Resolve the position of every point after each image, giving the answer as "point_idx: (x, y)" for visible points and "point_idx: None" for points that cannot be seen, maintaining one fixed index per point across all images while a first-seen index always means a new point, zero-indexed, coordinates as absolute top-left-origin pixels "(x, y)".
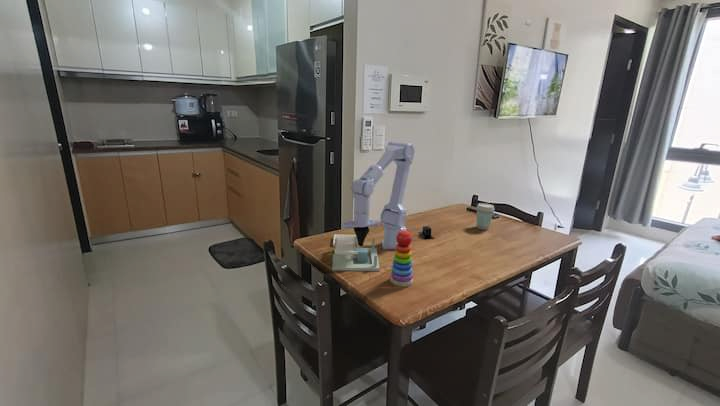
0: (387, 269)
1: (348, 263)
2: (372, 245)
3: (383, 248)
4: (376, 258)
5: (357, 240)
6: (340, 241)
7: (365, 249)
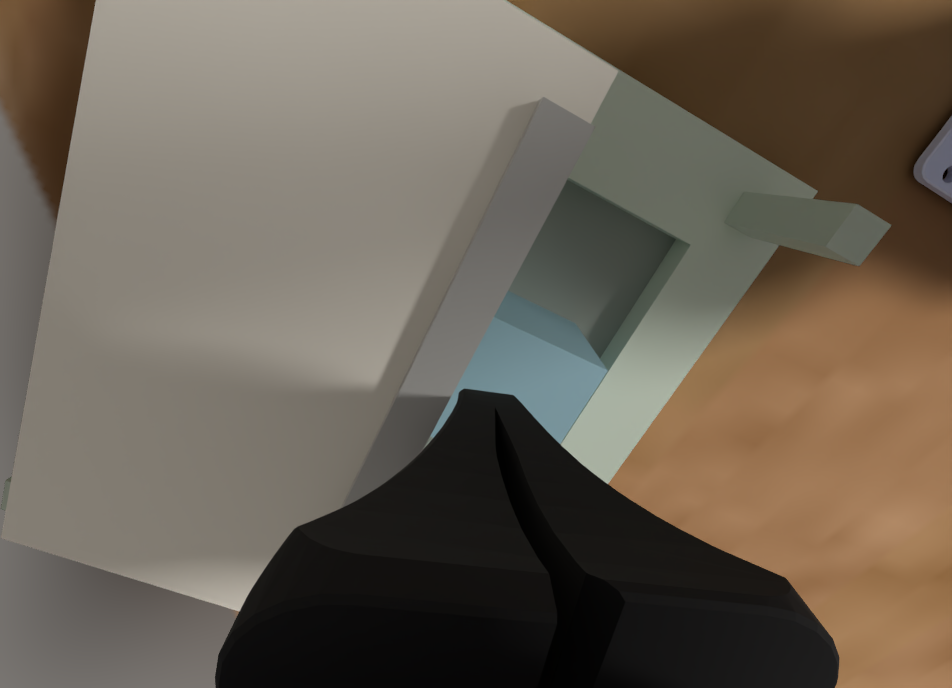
0: None
1: None
2: (767, 234)
3: (914, 174)
4: None
5: (453, 410)
6: (158, 189)
7: (556, 396)
